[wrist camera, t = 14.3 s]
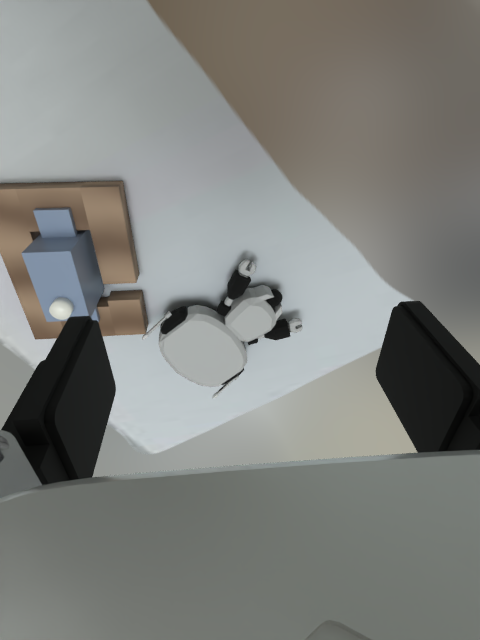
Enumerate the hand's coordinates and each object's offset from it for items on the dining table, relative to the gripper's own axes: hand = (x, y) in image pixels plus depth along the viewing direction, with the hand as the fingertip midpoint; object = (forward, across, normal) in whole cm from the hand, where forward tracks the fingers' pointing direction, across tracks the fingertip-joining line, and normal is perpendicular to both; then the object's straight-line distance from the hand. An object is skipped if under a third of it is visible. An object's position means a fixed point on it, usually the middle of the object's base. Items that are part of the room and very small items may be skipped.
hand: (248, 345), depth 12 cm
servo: (+26, +15, +9) cm, 32 cm away
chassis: (+26, +15, +9) cm, 32 cm away
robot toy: (+27, 0, +17) cm, 32 cm away
